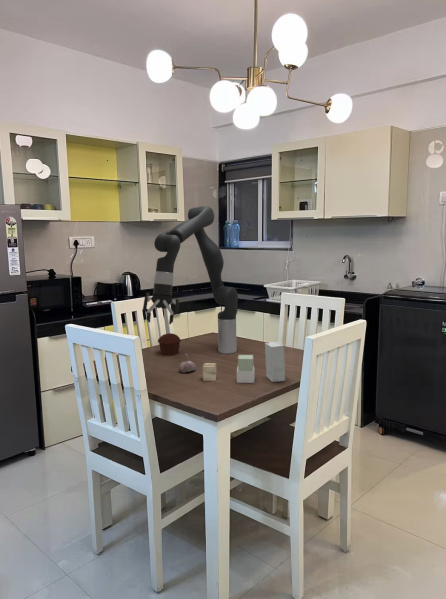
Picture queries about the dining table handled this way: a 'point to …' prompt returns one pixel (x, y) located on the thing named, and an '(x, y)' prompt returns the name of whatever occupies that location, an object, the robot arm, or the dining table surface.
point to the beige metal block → (209, 372)
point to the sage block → (245, 363)
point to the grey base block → (245, 376)
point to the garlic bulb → (187, 366)
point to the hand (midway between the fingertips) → (159, 323)
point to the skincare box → (275, 361)
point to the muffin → (169, 344)
